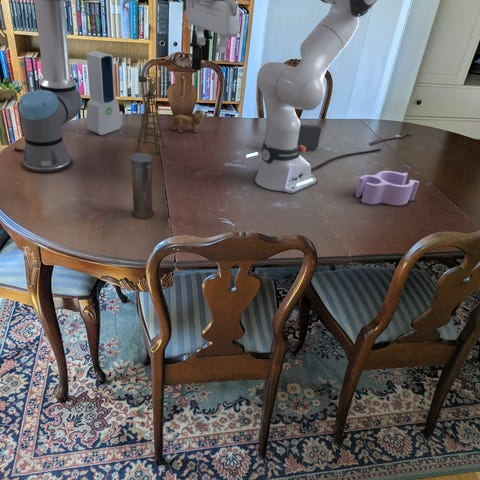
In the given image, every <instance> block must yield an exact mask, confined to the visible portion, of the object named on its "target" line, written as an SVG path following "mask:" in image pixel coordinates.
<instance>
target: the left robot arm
mask: <svg viewBox="0 0 480 480" xmlns="http://www.w3.org/2000/svg"><path fill="white" fill-rule="evenodd" d="M33 1H34V9H35V18H36V26H37V27H36V28H37V35H38V43H39V52H40V60H41V67H42V78H41V80H39V82H38V85H39V89H37V90H36V89H35V90H33V91H28V92H25V93H24V94H22V95H21V96H20V98H19V100H18V105H19V106H18V111H19V114H20V119H21V126H22V132H23V136H24V148H17V147H14V149H13V150H14V151H16V152H20V153H22V158H21V159H22V160H21V161H22V166H23V168H24V169H25V170H27V171H29V172H33V173H39V174H46V173H56V172H61V171H63V170H66V169H67V168H69V167H70V166H71V163H72V159H71V155H70V153H69V151H68V150H67V149H68V148H67V147H66V145H65V143H64V140H63V132H62V126H64V125H65V124H67V123H68V122H70V121H71V120H73V119H74V118H76V117H77V116H78V114H79V113H80V112H81V110H82V107H83V98H82V93H81V92H80V91H79V90H78V88H77V85H76V81H75V80H74V79H72V78H71V69H70V67H71V66H70V57H69V56H70V55H69V46H68V45H69V44H68V35H67V25H66V23H67V22H66V13H65V0H33ZM203 33H204V38H206V41H205V45H198V44H197V36H196V32H195V25H192V32H191V34H192V35H191V41H190V43H189V47H190V48H192V49H191V70H194V71H201V70H202V61H205V62H209V61H210V46H211V45H210V44H211V40H213V35H212V31H209V30H206V29H204V30H203Z"/></svg>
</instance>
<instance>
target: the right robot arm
mask: <svg viewBox="0 0 480 480" xmlns="http://www.w3.org/2000/svg"><path fill="white" fill-rule="evenodd" d="M185 1H186V2H185V6H186V7H185V18H186V21H187V23H188V24H190V25H192V26H193V25H195V32H196V36H197V44H198V45H205V41H206V38H204V33H203V30H204V29H206V30H209V31H211V33H214V34H218V39H219V41H218V44H216V45H215V52H216V53H218V54H224V53H225V51H226V46H227V43H228V42H229V38H236V37H238V35H239V33H240V7H239V4H238V3H239V1H238V0H185ZM320 1H321V2H322V3H325V4H329V5H331V6H330V8H329V10H328V13H327V14H326V15H325V16H324V17H323V18H322V19H321V20H320V22H318V24H317V25H316V26H315V27H314V28H313V29H312V31H311V32H310V33H309V34H308V35H307V37H306V38H305V39H304V40H303V41H302V42H301V44H300V47H299V52H300V53H299V54H300V57H301V59H300V61H299V62H298V64H297V65H296V66H292V65H289V64H287V63H284V62H277V61H268V62H266V63H264V64H263V65H262V66H261V67H260V68H259V70H258V72H257V75H256V85H257V87H258V88H259V90H260V92H261V95H262V98H263V102H264V108H265V116H266V124H265V135H264V140H263V142H262V147H261V148H262V149H261V159H260V163H259V166H258V169H257V172H256V175H255V177H254V181H255V183H256V184H257V185H259V186H260V187H262V188H264V189H266V190H270V191H277V192H284V193H288V194H294V193H296V192H299V191H301V190H302V189H305V188H307V187H309V186H311V185H313V184H316V183H317V178H316V177H315V176H314V175H313V174H312V171H315V170H318V169H319V168H321V167H322V166H324V165H326V164H328V163H329V162H332V161H334V160H337V159H341V158H344V157H349V156H354V155H361V154H368V153H373V152H378V151H381V150H382V148H376V149H370V150H365V151H358V152H351V153H345V154H342V155H339V156H335V157H332V158H329V159H327V160H325V161H324V162H322V163H320V164H319V165H317V166H315V167H314V168H312V166H311V161H309V160H307V159H305V158H304V157H303V156H302V155H301V154H300V152H301V153H305V152H306V151H307V150H306V148H305V147H304V146H303V145H300V146H299V145H298V144H297V143H298V137H299V131H300V125H301V121H300V118H299V117H298V115H297V113H296V109H297V110H302V111H313V110H315V109H316V108H317V107H318V106H320V104H321V103H322V101H323V99H324V96H325V85H324V79H325V76H326V73H327V71H328V69H329V68H330V66H331V65H332V64H333V63H334V61H335V60H336V59H337V57H338V56H339V55H340V54H341V53H342V51H343V50H344V49H345V48H346V46H347V45H348V44H349V42H350V41H351V40H352V38H353V36H354V35H355V34H356V31H357V29H358V28H359V25H360V17H363V16H365V15H366V14H367V13H368V12H369V10H370V9H372V8H373V6H374V5H375V4H376V2H377V1H378V0H320ZM258 155H259V152H257V151H255V152H253V153H249V154H246V158H251V157H254V156H258Z"/></svg>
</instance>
